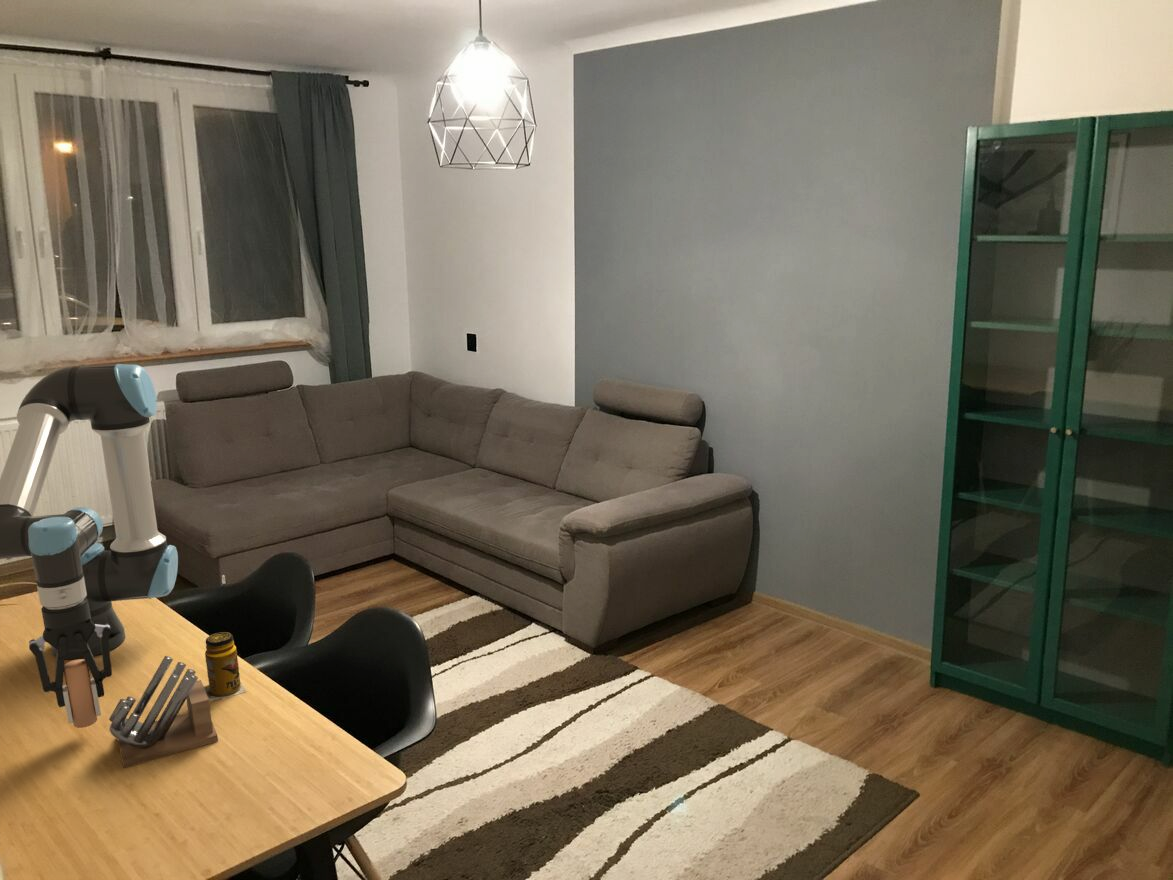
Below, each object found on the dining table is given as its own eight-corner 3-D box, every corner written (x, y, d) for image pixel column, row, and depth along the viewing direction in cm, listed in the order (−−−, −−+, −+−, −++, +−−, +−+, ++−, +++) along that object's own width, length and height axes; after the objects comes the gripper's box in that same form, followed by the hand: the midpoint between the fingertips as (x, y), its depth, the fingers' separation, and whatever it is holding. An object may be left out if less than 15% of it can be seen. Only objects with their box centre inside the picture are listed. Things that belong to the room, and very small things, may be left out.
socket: (110, 740, 175) (99, 670, 171) (199, 717, 182) (190, 648, 179) (115, 767, 166) (103, 693, 163) (208, 740, 174) (199, 669, 170)
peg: (72, 720, 176) (62, 662, 173) (96, 714, 178) (86, 657, 175) (74, 730, 173) (63, 671, 170) (98, 723, 175) (88, 666, 172)
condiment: (246, 692, 192) (240, 638, 189) (203, 704, 187) (196, 649, 185) (237, 678, 198) (231, 626, 195) (195, 689, 193) (188, 636, 190)
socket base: (117, 737, 176) (111, 698, 174) (207, 712, 184) (202, 676, 182) (123, 767, 166) (117, 727, 164) (218, 740, 174) (213, 702, 172)
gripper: (10, 620, 162) (32, 739, 168) (117, 598, 171) (135, 712, 177) (10, 605, 168) (32, 720, 174) (114, 584, 177) (131, 694, 183)
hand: (84, 715), depth 175 cm, fingers closed on peg, 4 cm apart
